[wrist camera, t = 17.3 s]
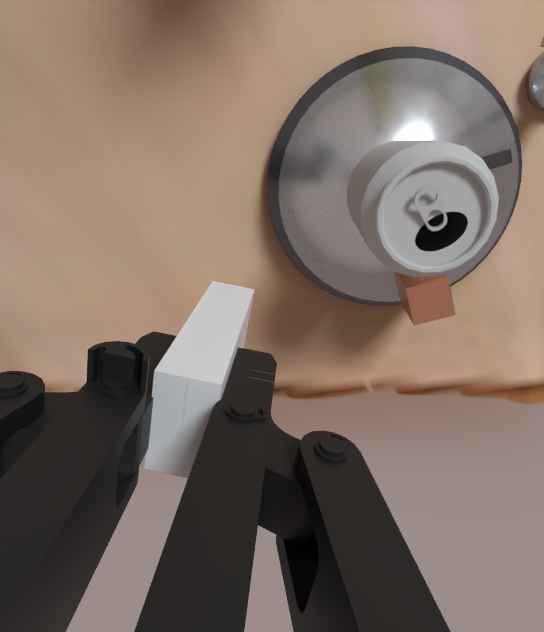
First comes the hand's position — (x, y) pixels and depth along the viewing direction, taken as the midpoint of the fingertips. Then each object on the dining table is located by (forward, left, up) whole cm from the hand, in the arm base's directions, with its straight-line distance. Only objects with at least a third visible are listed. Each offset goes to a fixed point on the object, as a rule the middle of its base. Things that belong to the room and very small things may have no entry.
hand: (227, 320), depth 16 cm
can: (+9, +4, -22) cm, 24 cm away
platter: (+9, +4, -23) cm, 25 cm away
